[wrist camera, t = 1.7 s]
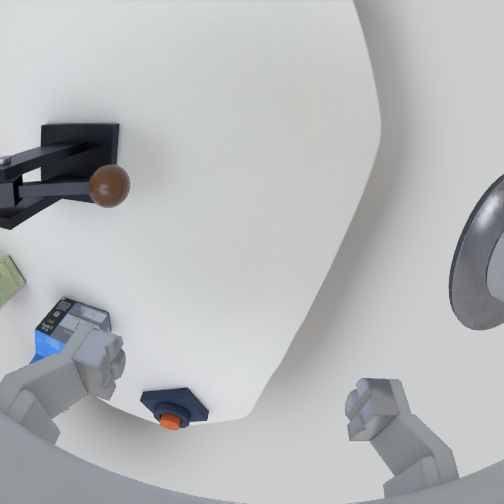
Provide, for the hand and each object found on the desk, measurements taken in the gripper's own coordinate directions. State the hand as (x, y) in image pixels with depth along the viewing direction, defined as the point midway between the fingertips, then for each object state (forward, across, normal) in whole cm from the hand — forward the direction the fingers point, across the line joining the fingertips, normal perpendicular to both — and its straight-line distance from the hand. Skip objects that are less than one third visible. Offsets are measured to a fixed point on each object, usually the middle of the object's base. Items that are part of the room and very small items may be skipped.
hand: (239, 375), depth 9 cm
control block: (+22, +8, +40) cm, 47 cm away
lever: (+14, +18, -1) cm, 23 cm away
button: (+18, +8, +40) cm, 45 cm away
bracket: (+22, +22, 0) cm, 31 cm away
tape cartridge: (+22, +23, +22) cm, 39 cm away
